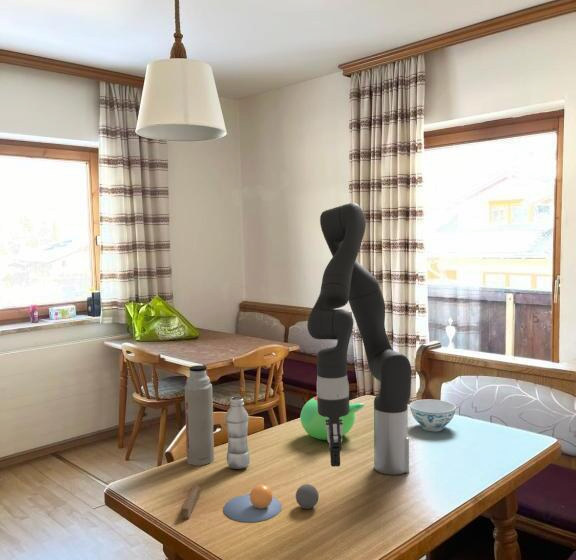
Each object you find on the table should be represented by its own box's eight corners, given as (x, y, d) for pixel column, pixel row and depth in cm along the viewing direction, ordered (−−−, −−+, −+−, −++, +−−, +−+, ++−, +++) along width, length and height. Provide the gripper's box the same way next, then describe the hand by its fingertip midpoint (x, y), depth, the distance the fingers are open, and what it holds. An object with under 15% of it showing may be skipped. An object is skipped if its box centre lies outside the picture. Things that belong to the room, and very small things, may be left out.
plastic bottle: (246, 472, 158) (245, 402, 156) (223, 471, 159) (221, 401, 157) (252, 463, 164) (251, 395, 162) (230, 462, 165) (228, 394, 164)
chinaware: (461, 435, 184) (461, 412, 183) (414, 436, 184) (414, 412, 184) (448, 420, 199) (448, 399, 198) (405, 421, 199) (405, 399, 199)
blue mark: (283, 494, 144) (283, 494, 144) (279, 522, 130) (279, 521, 130) (228, 494, 145) (228, 493, 144) (218, 521, 131) (218, 520, 131)
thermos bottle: (185, 466, 163) (182, 370, 161) (188, 455, 171) (185, 364, 169) (213, 464, 164) (210, 369, 161) (214, 454, 171) (212, 363, 169)
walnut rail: (199, 495, 144) (199, 486, 144) (188, 519, 132) (188, 508, 132) (193, 495, 144) (193, 486, 144) (182, 519, 132) (181, 508, 132)
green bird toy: (336, 425, 196) (335, 383, 194) (367, 440, 181) (367, 395, 180) (291, 435, 186) (291, 392, 185) (320, 452, 172) (320, 404, 171)
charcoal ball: (300, 478, 140) (293, 499, 140) (299, 485, 134) (291, 507, 134) (322, 485, 139) (314, 507, 139) (321, 493, 134) (313, 515, 134)
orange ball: (266, 476, 139) (247, 487, 140) (263, 486, 134) (243, 497, 135) (278, 495, 139) (259, 506, 140) (275, 505, 134) (256, 517, 134)
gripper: (351, 401, 126) (353, 476, 128) (346, 385, 140) (349, 453, 141) (317, 402, 127) (320, 477, 128) (316, 386, 140) (318, 454, 141)
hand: (335, 465), depth 135 cm, fingers closed
